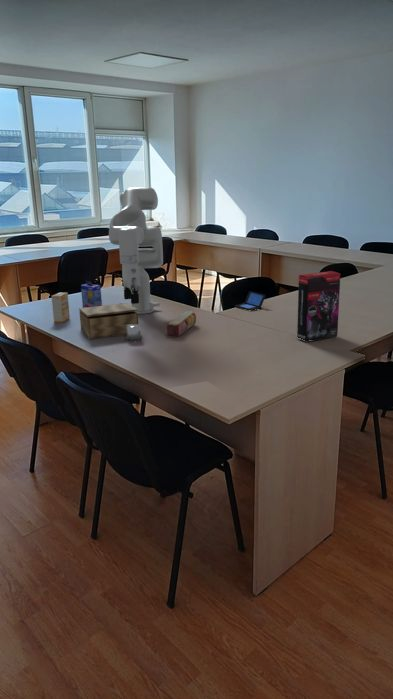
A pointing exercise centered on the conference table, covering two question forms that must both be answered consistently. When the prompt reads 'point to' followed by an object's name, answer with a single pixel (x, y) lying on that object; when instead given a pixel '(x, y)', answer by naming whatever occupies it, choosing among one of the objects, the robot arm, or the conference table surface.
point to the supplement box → (60, 307)
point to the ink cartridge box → (91, 295)
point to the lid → (107, 309)
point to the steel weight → (133, 332)
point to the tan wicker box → (107, 324)
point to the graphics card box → (318, 305)
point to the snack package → (181, 324)
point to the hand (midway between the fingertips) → (131, 301)
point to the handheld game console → (252, 301)
